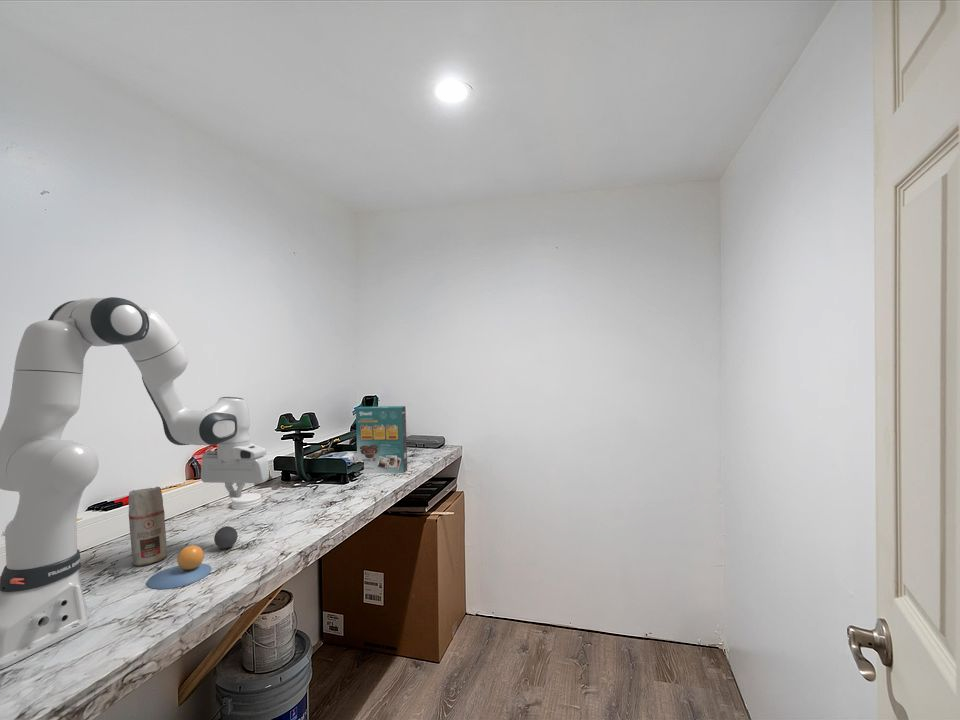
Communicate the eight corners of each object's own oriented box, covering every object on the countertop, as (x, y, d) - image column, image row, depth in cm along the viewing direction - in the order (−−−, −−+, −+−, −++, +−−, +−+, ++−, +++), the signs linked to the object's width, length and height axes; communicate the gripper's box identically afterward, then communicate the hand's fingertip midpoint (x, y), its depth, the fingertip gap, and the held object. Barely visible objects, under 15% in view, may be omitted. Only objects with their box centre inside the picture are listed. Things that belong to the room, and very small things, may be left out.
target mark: (184, 590, 117) (184, 589, 117) (132, 587, 119) (132, 587, 119) (223, 564, 131) (223, 564, 131) (176, 563, 133) (175, 562, 133)
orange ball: (211, 546, 132) (205, 571, 130) (191, 545, 133) (184, 570, 131) (196, 544, 127) (190, 570, 124) (175, 544, 128) (168, 569, 125)
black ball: (244, 530, 146) (236, 551, 143) (226, 530, 147) (218, 550, 143) (234, 523, 142) (225, 544, 138) (215, 523, 142) (206, 544, 139)
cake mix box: (407, 470, 231) (405, 406, 230) (403, 473, 225) (401, 407, 224) (362, 469, 234) (360, 406, 233) (357, 473, 228) (355, 408, 227)
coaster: (242, 511, 176) (242, 502, 176) (226, 507, 181) (225, 498, 181) (267, 504, 185) (266, 494, 185) (250, 500, 190) (250, 491, 190)
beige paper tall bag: (125, 568, 130) (121, 493, 130) (137, 556, 138) (134, 485, 138) (161, 564, 132) (158, 490, 132) (171, 552, 140) (168, 482, 140)
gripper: (194, 452, 145) (196, 499, 146) (258, 453, 142) (260, 501, 143) (209, 448, 152) (210, 493, 152) (271, 449, 149) (272, 494, 149)
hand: (235, 497), depth 147 cm, fingers closed
